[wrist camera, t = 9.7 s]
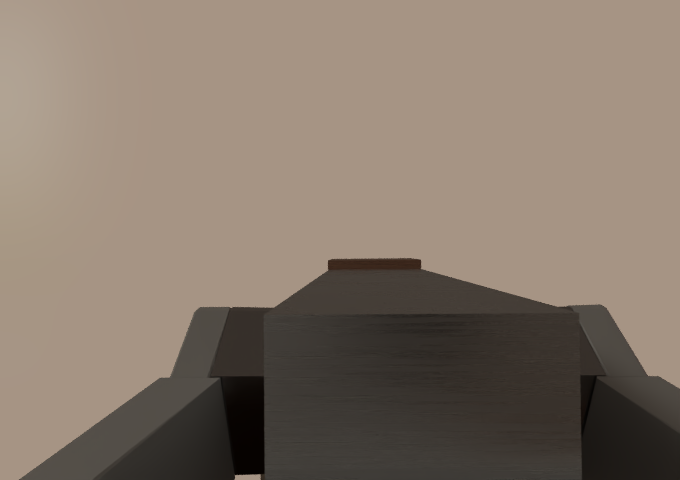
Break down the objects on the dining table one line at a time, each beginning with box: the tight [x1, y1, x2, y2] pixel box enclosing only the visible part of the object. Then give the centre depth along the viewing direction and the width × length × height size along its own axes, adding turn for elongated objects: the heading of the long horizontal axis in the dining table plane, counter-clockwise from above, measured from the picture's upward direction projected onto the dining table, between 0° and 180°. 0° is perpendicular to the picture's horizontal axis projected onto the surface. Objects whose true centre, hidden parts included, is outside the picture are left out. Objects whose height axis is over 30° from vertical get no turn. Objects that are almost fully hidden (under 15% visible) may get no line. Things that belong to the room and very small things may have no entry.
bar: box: [264, 258, 582, 480], centre depth 17 cm, size 22×3×3 cm, turn 179°
